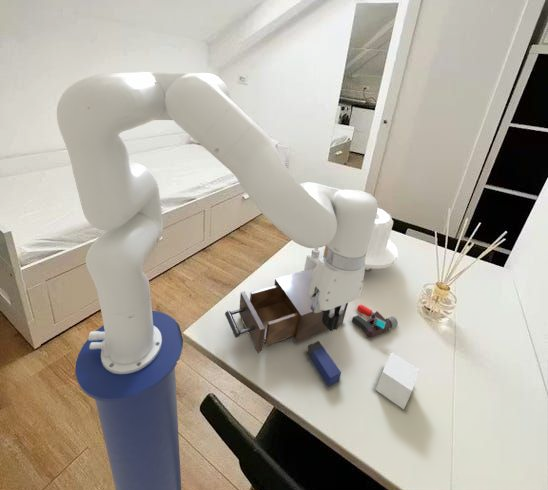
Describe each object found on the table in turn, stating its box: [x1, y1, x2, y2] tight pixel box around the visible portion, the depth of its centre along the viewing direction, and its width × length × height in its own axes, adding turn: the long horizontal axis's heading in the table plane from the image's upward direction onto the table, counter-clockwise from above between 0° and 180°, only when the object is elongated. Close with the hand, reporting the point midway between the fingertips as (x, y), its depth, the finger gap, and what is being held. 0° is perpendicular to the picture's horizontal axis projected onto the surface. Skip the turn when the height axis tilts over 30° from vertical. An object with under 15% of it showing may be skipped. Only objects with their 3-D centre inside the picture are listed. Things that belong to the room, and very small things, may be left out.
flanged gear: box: [365, 207, 399, 271], centre depth 103 cm, size 25×25×19 cm
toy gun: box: [351, 304, 399, 339], centre depth 80 cm, size 10×12×5 cm
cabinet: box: [273, 268, 349, 343], centre depth 79 cm, size 15×14×9 cm
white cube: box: [375, 352, 420, 410], centre depth 63 cm, size 6×6×6 cm
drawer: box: [224, 285, 299, 353], centre depth 73 cm, size 18×12×7 cm
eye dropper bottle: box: [303, 248, 321, 271], centre depth 93 cm, size 4×6×12 cm
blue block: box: [306, 340, 342, 388], centre depth 66 cm, size 8×3×3 cm, turn 27°
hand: (329, 325), depth 62 cm, fingers closed
